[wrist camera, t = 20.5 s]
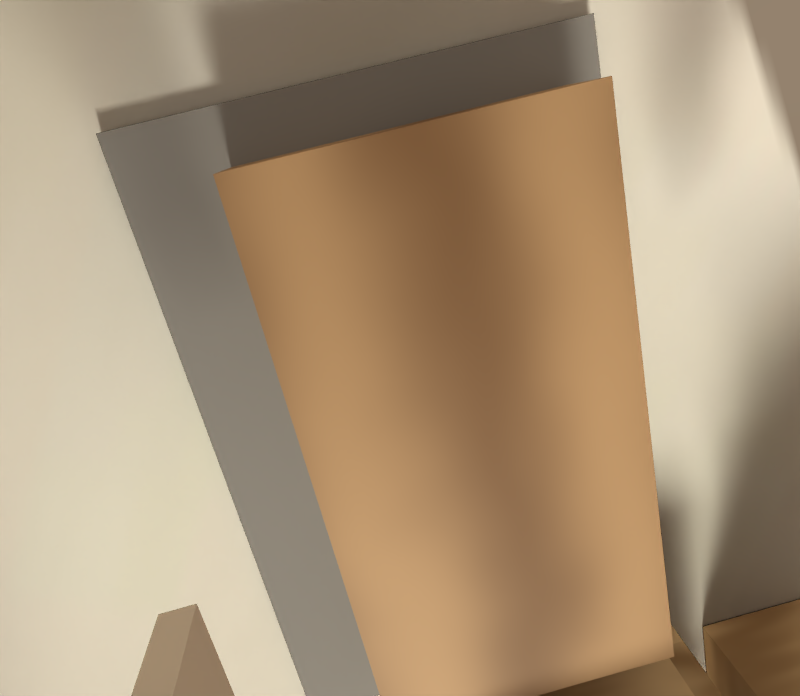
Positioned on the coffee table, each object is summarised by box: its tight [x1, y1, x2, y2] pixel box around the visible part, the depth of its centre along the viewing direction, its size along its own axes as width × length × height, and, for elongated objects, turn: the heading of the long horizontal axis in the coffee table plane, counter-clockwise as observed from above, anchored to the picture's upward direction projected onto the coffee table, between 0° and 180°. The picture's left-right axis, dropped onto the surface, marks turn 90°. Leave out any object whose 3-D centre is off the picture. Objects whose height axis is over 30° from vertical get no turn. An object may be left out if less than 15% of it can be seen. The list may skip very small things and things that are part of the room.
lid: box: [213, 76, 674, 696], centre depth 18 cm, size 9×17×3 cm, turn 13°
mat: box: [96, 13, 601, 696], centre depth 20 cm, size 13×20×1 cm, turn 13°
